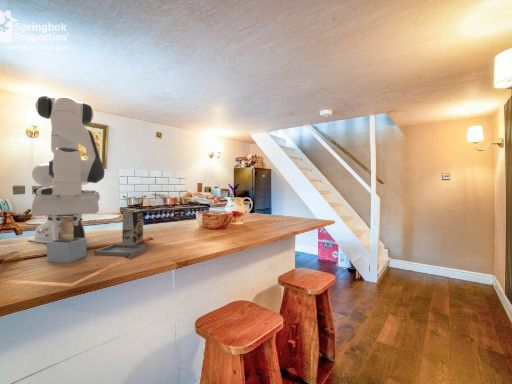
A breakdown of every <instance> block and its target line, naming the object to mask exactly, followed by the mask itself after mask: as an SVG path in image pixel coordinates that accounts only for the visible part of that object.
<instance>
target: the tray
mask: <svg viewBox="0 0 512 384" xmlns="http://www.w3.org/2000/svg"><path fill="white" fill-rule="evenodd" d="M146 247H147V246H146V245H143V244H141V245H140V244H135V245H127V244H122V243H113V244H111V245H107V246H105V247H102V248H99V249H97V250H94V255H98V256H99V255H100V256H115V257H116V256H118V257H124V259H131V258H132V257H135V256H137V255H138V254H141V253H142V252H145V251H146Z"/></svg>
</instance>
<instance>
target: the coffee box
mask: <svg viewBox="0 0 512 384" xmlns="http://www.w3.org/2000/svg"><path fill="white" fill-rule="evenodd" d="M121 235H122V238H121V239H122V241H121V242H122V243H121V244H127V245H138V244H139V243H142V242H143V241H144V210H127V211H123V212H122V234H121Z"/></svg>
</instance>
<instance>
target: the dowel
mask: <svg viewBox="0 0 512 384" xmlns="http://www.w3.org/2000/svg"><path fill="white" fill-rule="evenodd" d="M72 241H74V216H62V217H61V228H60V242H65V243H69V242H72Z"/></svg>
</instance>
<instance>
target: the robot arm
mask: <svg viewBox="0 0 512 384" xmlns="http://www.w3.org/2000/svg"><path fill="white" fill-rule="evenodd" d="M35 109H36V110H35V111H37V114H38V115H39V116H40V117H42V118H44V119H48V120H49V119H50V124H51V132H50V151H51V152H52V154H53V159H51V160H49V161H48V163H41V164H37V165H35V166H34V167H33V168H32V172H31V177H32V180H34V181H35V183H36V184H38V185H40V186H41V188H37V189H36V196H35V197H34V199H33V200H32V203H31V215H32V216H34V217H44V216H45V217H47V220H45V221H44V222H43V223H41V224H40V225H38V226H37V227H35V230H34V236H33V237H29V238H27V241H28V242H33V243H34V242H35V243H42V244H43V243H44V244H47V242H50V241H54V240H57V239H58V234H59V230H60V227H61V217H62V216H76V217H78V219H77V220H76V221H74V226H78V221H79V220H80V219H81V218H82V217H83V215H88V214H89V215H90V214H91V215H92V214H98V212H100V207H99V205H100V204H99V201H100V200H101V199H100V198H101V197H100V193H99V192H98V191H96V190H86V189H85V190H83V189H82V188H83V186H85V185H88V184H90V183H92V184H97V183H99V182H100V181H102V180H103V179H104V177H105V174H106V173H105V167H104V164H103V162H102V159H101V156H100V153H99V149H98V146H97V144H96V141H95V138H94V135H93V133H92V131H91V130H90V129H88V128H87V127H86V125H89V124H90V123H91V122H92V120H93V119H94V111H93V108H92V106H91V105H90V104H89V103H86V102H84V101H83V102H81V101H78V100H75V99H74V98H72V97H69V96H59V97H57V96H50V95H46V94H45V95H44V94H43V95H39V96H38V97H37V99H36V101H35ZM79 145H81V146H82V147H83V148H84V149H85V152H86V156H87V158H82V156H81V151H80V150H79ZM82 219H83V218H82Z"/></svg>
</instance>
